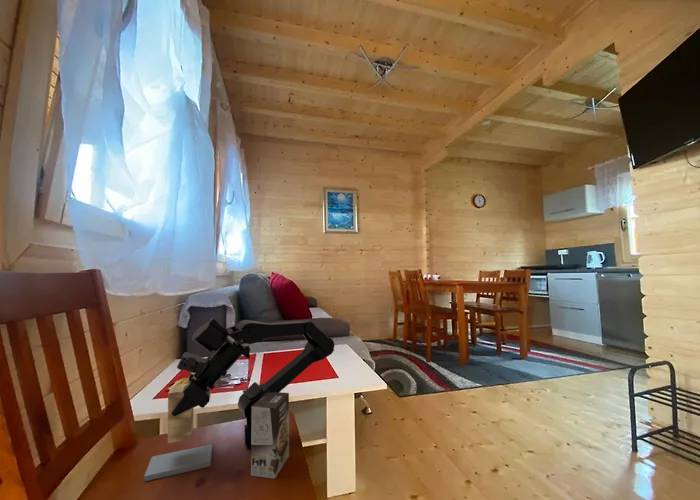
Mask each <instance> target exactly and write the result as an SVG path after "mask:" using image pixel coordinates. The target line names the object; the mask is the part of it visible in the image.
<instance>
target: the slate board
mask: <svg viewBox="0 0 700 500" xmlns="http://www.w3.org/2000/svg"><path fill="white" fill-rule="evenodd" d="M212 452H213V444H212V443H211V444H206V445H201V446H198V447H197V446H196V447H193V448H187V449H182V450H178V451H177V450H176V451H173V452H168V453H164V454H163V453H162V454H158V455H152V456H151V459H150V461H149V464H148V466H147V468H146V471H145V474H144V476H143V482H144V483H145V482H148V481H154V480H157V479H161V478H166V477H171V476H175V475H179V474H183V473H188V472H192V471H196V470H200V469H201V470H202V469H204V468H209V467H211V464H212V456H213V455H212V454H213V453H212Z"/></svg>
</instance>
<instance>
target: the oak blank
mask: <svg viewBox="0 0 700 500" xmlns="http://www.w3.org/2000/svg"><path fill="white" fill-rule="evenodd" d="M187 384H188V383H185V384H178V385H177V384H176V385H171V388H170V389H169V391H168V393H167V396H168V397H167V444H172V443H177V442H178V443H179V442H182V441H183V442H184V441H189V440H191V439H192V435H193V431H194V408H191V409H189V410H187V411H185V412H183V413H181V414H179V415H177V416H173V415H172V412H173V410H174V409H175V408H176V406H177V405H178V403H179V402H180V400H181V399H182V398H183V396H184V393H183V389H184V387H185V385H187Z"/></svg>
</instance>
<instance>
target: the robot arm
mask: <svg viewBox="0 0 700 500" xmlns="http://www.w3.org/2000/svg"><path fill="white" fill-rule="evenodd" d="M297 335H298V336H299V335H302V336H303V337H304V339H305V340H306V341H307V342H306V344H305V346H304V348H303V350H302V351H301V352H300V353H298V355H296V356H295V357H294V358H293V359H292V360H291V361H289V362H288V363H287V364H286V365H284V367H282V368H281V369H280V370H279V371H277V372H276V373H275V374H274V375H272V376H271V377H270V378H269V379H268V380H267V381H266V382H264V383H262V384H261V383H260V384H258V383H257V382H256V381H255V382H253V383H252V384H250V386H249V387H248V388H246V389H245V390H242V394H241V395H240V396H239V398H238V402H237V408H238V410H239V411H240V412H241V413H242V415H243V416H244V417H245V419H246V424H244V427H243V428H244V431H243V434H244V435H243V436H244V437H243V439H244V440H243V441H244V445H246V450H249V451H250V450H251V416H252V406H253V405H254V404H255V403H256V402H257V401H258V400H259V399H260V398H261V397H262V396H264V395H265V394H266V393H267V392H273V393H274V392H282V391H283V390H284V389H285V388H286V387H287V386H288V385H290V384H291V383H292V382H293V381H294V380H295V379H297V378H298V377H299V376H300V375H301V374H302V373H303V372H305V371H306V369H308V368H309V367H310V366H312V365H313V364H315V363H317V362H319V361H323V360H325V359H326V358H328V357H329V356H330V355H332V354H333V353H334V351H335V341H334V340H333V339H332V337H330V336H328V335H326V334H325V333H323V332H322V331H321V330H320V329H319V328H318V327H317V326H316V325H315V323H314V322H312V321H310V320H307V319H303V320H295V321H294V320H293V321H279V322H278V321H277V322H263V321H257V320H250V319H243V320H240V321H239V322H238V323H237V324H236V325H231V326H229V327H226V328H224V327H223V325H220V323H219V322H218V320H216V319H214V318H212V317H211V318H210V319H209V320H208V321H206V322H205V323H204V324H202V325H200V326H199V327H198V328H196V331H195V332H194V333H193V334H192V336H191V339H192V341H194V342H196V344H198V345H200V347H202V348H203V349H205V350H206V351H207V352H213V351H214V352H215V353H213V354H211V355H208V356H207V357H202V356H200V355H197V354H193V353H191V352H188V351H184V353H183V354H182V356H181V358H180V360H179V363H178V364H177V366H176V369H178V370H180V371H182V370H184V371H186V372H189V373H190V375H188V376H189V377H188V383H186V384H187V385H185V387H184V389H183V393H184V396H183V398H182V399H181V400H180V402H179V403H178V405H177V406H176V408H175V409H174V410H173V412H172V415H173V416H177V415H179V414H181V413H183V412H185V411H187V410H189V409H191V408H193V409H194V408H196V407H197V406H198V407H200V408H202V409H203V408H205V407H206V406H207V405H208V403H209V402H210V401H211V390H213V389H214V388H215V387H216V384H217V382H219V381H220V379H221V378H222V377H225V376H226V375H227V374H228V371H229V370H230V369H231V368H232V367H233V366H234V365H235V363H236V362H237V361H239V359H240V358H241V357H242V356H244V357H245V358H246V359H247V360H249V359H250V358H251V356H250V355H251V354H250V353H251V348H250V346H249V345H253V344H255V343H256V344H257V343H260V342H263V341H266V340H267V339H270V338H275V337H289V336H297ZM229 337H230V338H231V339H230V338H229ZM240 342H242V343H240ZM243 343H244V344H247V345H243Z"/></svg>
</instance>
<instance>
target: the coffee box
mask: <svg viewBox="0 0 700 500" xmlns="http://www.w3.org/2000/svg"><path fill="white" fill-rule="evenodd" d="M250 450H251V451H250V453H251V454H250V476H252V477H259V478H267V479H276V478H277V476H278V475H279V473H280V471H281V469H282V468H283V466H284V464H285V463H286V462H287V460H288V458H289V457H290V393H289V392H282V391H280V392H274V393H273V392H267V393H266V394H265V395H264V396H262V397H261V398H260V399H259V400H258V401H257V402H256V403H255V404H254V405H253V406H252V416H251V449H250Z"/></svg>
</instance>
